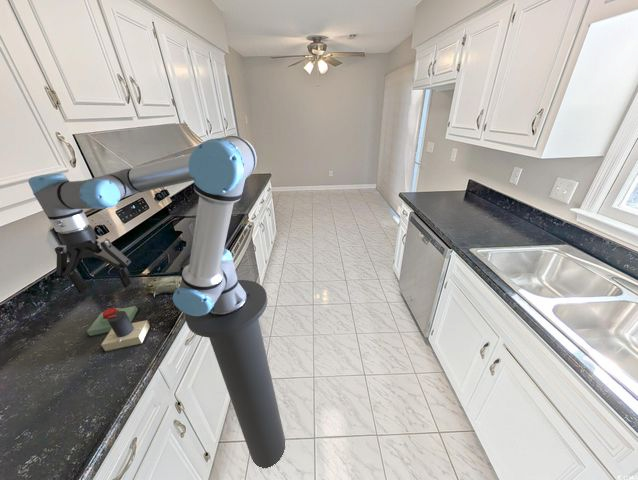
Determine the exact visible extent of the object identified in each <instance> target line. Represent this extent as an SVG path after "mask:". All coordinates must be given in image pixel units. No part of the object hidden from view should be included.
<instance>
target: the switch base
mask: <svg viewBox="0 0 638 480" xmlns="http://www.w3.org/2000/svg"><path fill="white" fill-rule="evenodd" d="M115 308H116V310H117V312H119V311H125V312H126V314H127V316H128V317H129V319H130V321H131V322H133V319H134V318H135V316H136V315H137V313H138V311H139V309H138V308H137V306H136V305H134V306H129V307H123V308H121V307H115ZM103 312H104V311H102V312H100V314H99V315H98V316H97V318H96V319H95V320H94V321H93V323H92V324H91V326H90V327H89V328H88V330H86V332H87V334H88V335H89V337H91V336H96V335H102V334H106V333H107V334H108V333H109V332H110V331H111V329H112V327H111V326H110V324H109V322H108V319H105V318H104V316H103Z"/></svg>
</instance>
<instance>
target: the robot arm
mask: <svg viewBox="0 0 638 480" xmlns="http://www.w3.org/2000/svg"><path fill="white" fill-rule="evenodd" d="M257 164H258V157H257V153H256V149H255V147H254V146H253V145H252V144H251V142H249V141H248V140H247V139H245V138H243V137H241V136H238V135H228V136H223V137H217V138H210V139H207V140H205V141H203V142H202V143H200V144H198V145H196V147H194V149H193V150H192V151H191V153H188V154H184V155H180V156H175V157H171V158H167V159H163V160H159V161H154V162H151V163H147V164H143V165H138V166H135V167H132V168H131V167H130V168H124V169H121V170H118V171H115V172H111V173H108V174H104V175H100V176H96V177H91V178H89V179H84V180H74V181H70V179H68V177H67V176H66V174H65V173H60V172H56V173H55V172H54V173H46V174H40V175H36V176H31V177H30V178H29V179H28V180H27V182H28V185H29V187H30V189H31V191H32V194H33V196H34V197H35V199H36V200H37V202H38V203H39V205H40V207H41V209H42V210H43V212H44V214H45V216H46V217H47V218H48V220H49V222H50V224H51V225H52V227H53V229H54V231H55V232H56V233H57V237H58V238H59V240H60V242H61V243H62V244H60V245H58V246H56V247H54V252H55V254H56V269H55V270H56V275H57V276H64V277H66V278H67V280H68V281H69V283H70V284H71V285H73V286H74V288H75V290H76V291H77V293H78V294H83V293H84V292H85V291H86V290H87V289H88V287H87V285H86V283H85V282H84V280H83V279H82V276H81V275H80V273H79V271H76V268H77V266H78V264H79V262H80V259H85V258H86V259H87V258H89V259H90V258H95V259H99V260H101V261H103V262H105V263H106V264H108V265H110V266H112V267H114V268H116V274H117V276H118V277H119V280H120V281H121V283H122V285H123V287H124V288H125V289H126V288H128V287H129V286H130V285H131V284H132V281H131V279H130V277H129V276H130V271H129V270H128V267H129V266H130V265H131V264H132V261H131V259H129V258H128V257H127V256H126V255H125V254H124V253H122V252H121V251H120V250H119V249H118V248H117V247H115V246H114V245H113V244H112V242H111V240H110V239H108V238H106V239H104V240H102V241H99V240H98V239H97V238H96V237H97V236H96V234H95V233H96V232H95V231H94V229H93V227H92V225H90V221H89V219H88V217H87V215H86V213H85V211H84V210H93V209H96V210H103V209H107V208H114V207H115V206H117V205H118V203H119V202H120V200H122V199H123V198H126V197H129V196H132V195H137V194H141V193H144V192H147V191H152V190H157V189H161V188H166V187H170V186H175V185H179V184H184V183H187V182H189V183H190V182H193V190H194V192H195V194H197V195H198V202H197V210H196V217H195V223H194V229H193V237H192V243H191V249H190V250H191V251H190V257H189V262H188V263H189V264H187V265H186V266H184V268H183V269H182V272H181V277H182V279H181V284H180V286H179V288H178V289H176V291H175V292H173V294H172V303H173V304H174V306H175V307H176V309H179V311H180V312H182V313H184V314H185V313H186V314H188V315H192V316H202V315H205V314H207V313H208V312H209V313H210V314H211V315H214V316H226V315H230V314H233V313H235V312H237V311H238V310H240V309H241V308H242V307H243V306H244V305H245V304H246V301H247V296H246V294H250V292H245V291H244V289H243V288H242V287H241V285H240V284H239V283H238V280H239V279H238V275H237V271H236V266H235V263H234V258H233V256H232V255H233V254H232V252H231V250H228V249H227V248H225V246H226V243H227V242H226V241H227V237H228V231H229V227H230V223H231V217H232V215H233V214H232V213H233V210H234V209H233V208H234V204H235V203H237V202H239V201H240V200H241V199H242V196H243V191H244V187H245V183H246V182H245V181H246V179H247V178H249V177H250V176H251V175H252V174H253V172H254V171H255V169H256V168H257ZM68 252H69V253H71V255H70V257H69V260H68V256H69V255H68V254H69V253H68ZM68 261H69V262H68Z"/></svg>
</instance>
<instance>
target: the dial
mask: <svg viewBox="0 0 638 480" xmlns="http://www.w3.org/2000/svg"><path fill="white" fill-rule="evenodd" d="M108 322H109V324H110V326H111V327H112V329H113V331H114V333H115V334H116V336H117V337H124V336H127V335H128V334H130V333H131V332H132V331H133V329H134V327H133V325H132V323H133V322H132V321H130V319H129V317H128V316H127V314H126V312H125V311H119V312H116V313H114V314H112V315H111V316H108Z"/></svg>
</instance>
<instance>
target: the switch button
mask: <svg viewBox="0 0 638 480" xmlns="http://www.w3.org/2000/svg"><path fill="white" fill-rule="evenodd" d="M116 308H117V307H110V308H107V309H105V310H104V311H102V312H103V316H104V318H105V319H108V316H111V315H112V314H114V313H116V312H117V310H116Z"/></svg>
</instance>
